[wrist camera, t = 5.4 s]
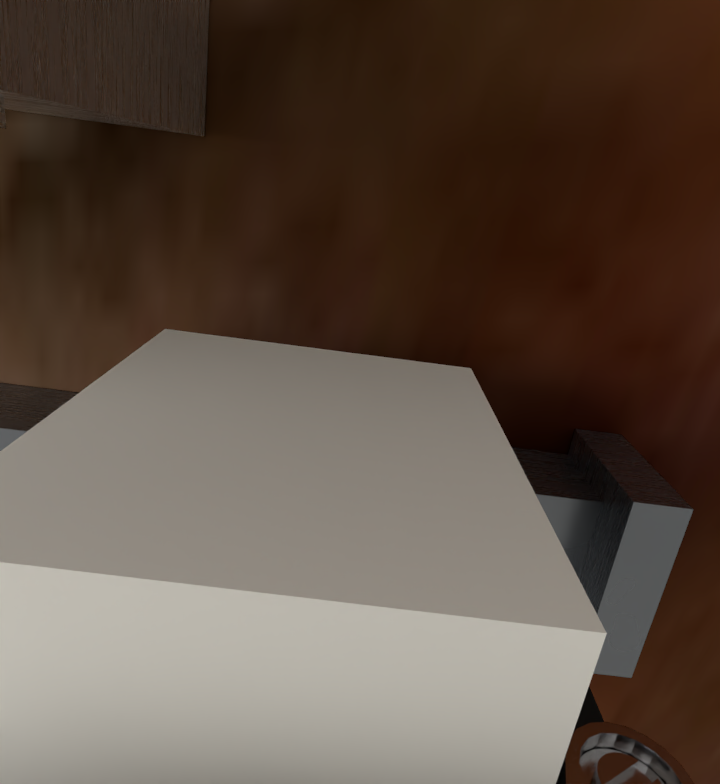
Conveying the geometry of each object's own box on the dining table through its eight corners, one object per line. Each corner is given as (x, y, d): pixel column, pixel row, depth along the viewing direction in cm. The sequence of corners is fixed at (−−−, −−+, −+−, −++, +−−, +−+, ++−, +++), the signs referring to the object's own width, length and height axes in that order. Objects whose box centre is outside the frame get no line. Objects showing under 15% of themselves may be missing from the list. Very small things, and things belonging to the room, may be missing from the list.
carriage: (456, 339, 11) (606, 632, 4) (401, 629, 14) (434, 1142, 6) (196, 306, 11) (-129, 546, 4) (186, 604, 14) (-29, 1098, 6)
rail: (621, 434, 13) (693, 509, 10) (578, 575, 14) (631, 677, 11) (-347, 312, 12) (-566, 354, 9) (-301, 469, 13) (-483, 548, 10)
